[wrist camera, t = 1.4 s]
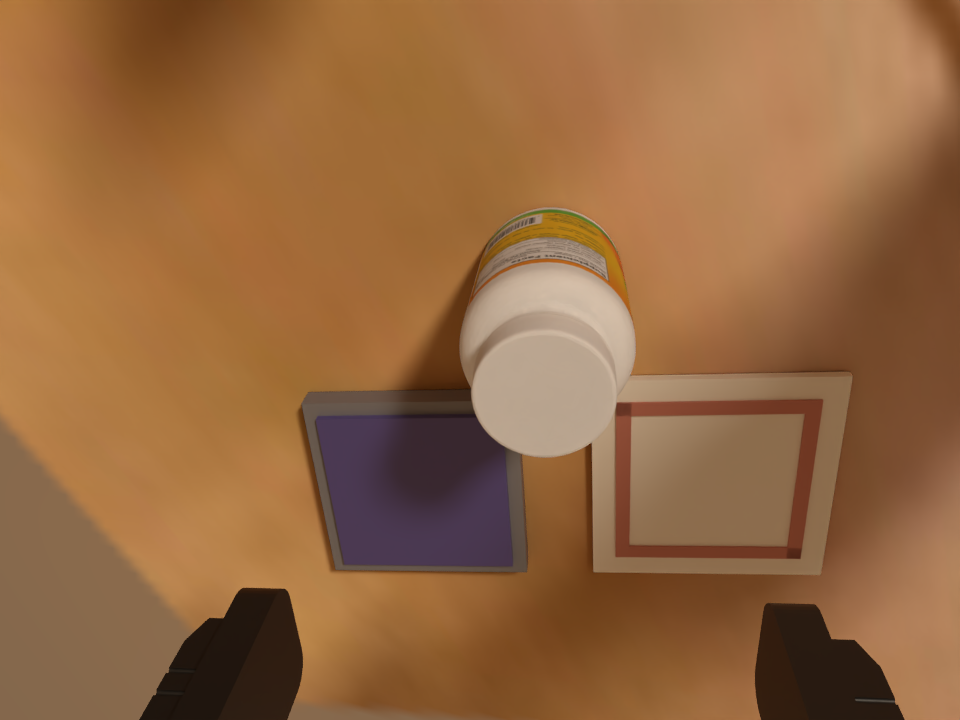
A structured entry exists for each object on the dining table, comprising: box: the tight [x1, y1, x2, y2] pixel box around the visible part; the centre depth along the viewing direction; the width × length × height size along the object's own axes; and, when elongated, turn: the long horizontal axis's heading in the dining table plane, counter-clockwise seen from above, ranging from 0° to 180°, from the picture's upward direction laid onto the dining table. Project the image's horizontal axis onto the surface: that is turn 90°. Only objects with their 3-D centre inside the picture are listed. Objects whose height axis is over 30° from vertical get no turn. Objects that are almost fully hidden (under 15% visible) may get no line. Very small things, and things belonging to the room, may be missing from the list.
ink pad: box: [302, 389, 528, 572], centre depth 34 cm, size 9×9×1 cm
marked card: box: [592, 372, 853, 575], centre depth 32 cm, size 10×10×1 cm
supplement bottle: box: [459, 207, 636, 458], centre depth 25 cm, size 5×5×10 cm
